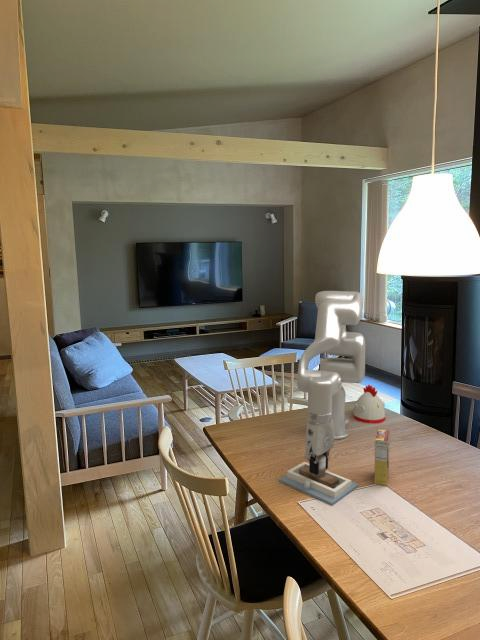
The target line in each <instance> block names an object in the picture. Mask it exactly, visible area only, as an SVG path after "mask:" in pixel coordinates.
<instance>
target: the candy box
mask: <svg viewBox="0 0 480 640" xmlns="http://www.w3.org/2000/svg"><path fill="white" fill-rule="evenodd" d="M390 433H391V432H390V430H386V429H385V430H384V429H377V431H376V435H375V439H374V479H373V480H374V485H378V486H386V487H387V486H388V482H389V474H390Z"/></svg>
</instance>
